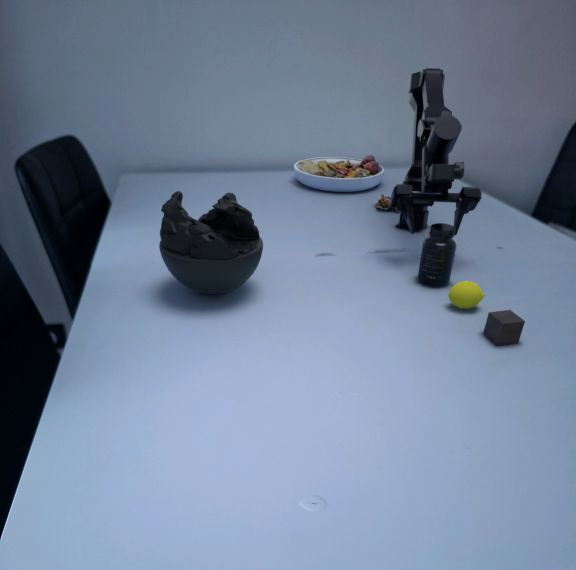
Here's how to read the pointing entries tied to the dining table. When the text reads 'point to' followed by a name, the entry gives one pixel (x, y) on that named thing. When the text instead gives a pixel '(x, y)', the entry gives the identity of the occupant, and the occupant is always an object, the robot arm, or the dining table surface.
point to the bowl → (339, 173)
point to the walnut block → (503, 327)
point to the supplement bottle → (437, 256)
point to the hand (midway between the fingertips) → (434, 233)
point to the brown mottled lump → (384, 203)
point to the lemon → (465, 294)
